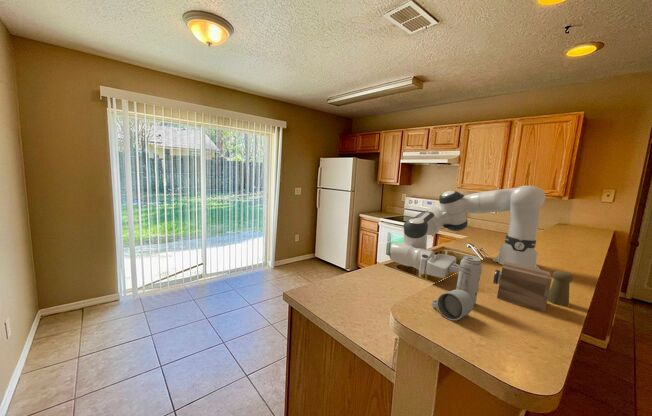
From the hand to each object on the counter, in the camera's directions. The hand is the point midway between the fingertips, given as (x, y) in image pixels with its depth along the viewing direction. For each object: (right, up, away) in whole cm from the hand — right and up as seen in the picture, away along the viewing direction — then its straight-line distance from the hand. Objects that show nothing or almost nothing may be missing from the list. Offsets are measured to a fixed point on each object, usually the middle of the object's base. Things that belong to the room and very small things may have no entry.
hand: (464, 270), depth 102 cm
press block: (+14, -8, -9) cm, 18 cm away
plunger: (+13, -4, -9) cm, 16 cm away
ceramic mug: (-16, -8, -22) cm, 28 cm away
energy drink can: (-7, -7, -15) cm, 18 cm away
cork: (+28, -9, -8) cm, 31 cm away
